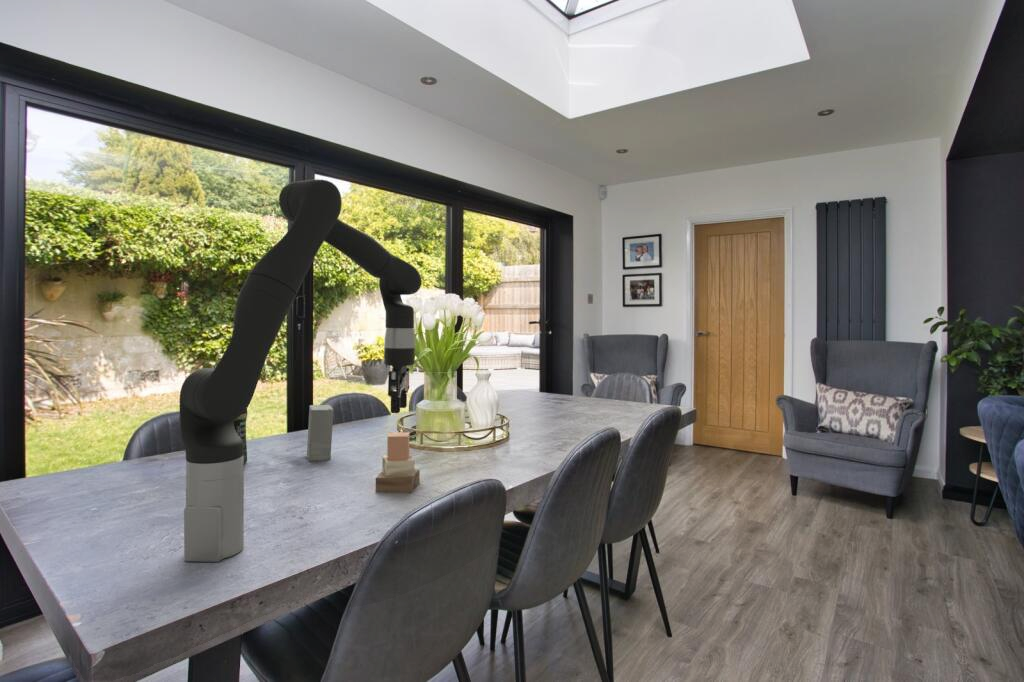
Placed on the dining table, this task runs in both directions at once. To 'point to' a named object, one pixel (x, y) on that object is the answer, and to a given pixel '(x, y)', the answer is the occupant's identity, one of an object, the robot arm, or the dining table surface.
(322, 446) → the skincare box
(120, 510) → the dining table surface
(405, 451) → the peach cube on top
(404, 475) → the tower middle
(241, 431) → the coffee jar
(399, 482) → the tower base
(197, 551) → the robot arm
